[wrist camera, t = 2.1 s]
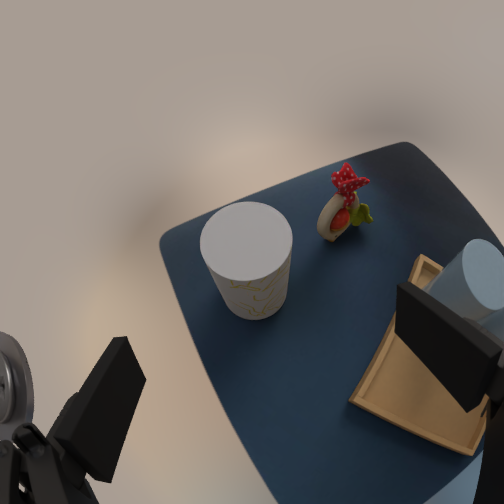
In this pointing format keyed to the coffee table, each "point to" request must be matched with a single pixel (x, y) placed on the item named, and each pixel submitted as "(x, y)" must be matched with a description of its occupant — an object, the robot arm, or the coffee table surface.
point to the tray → (417, 389)
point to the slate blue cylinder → (471, 281)
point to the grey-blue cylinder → (495, 324)
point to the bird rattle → (343, 205)
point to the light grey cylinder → (249, 257)
